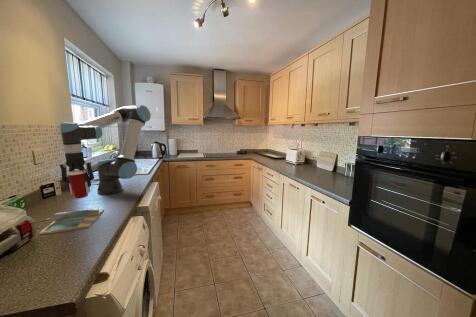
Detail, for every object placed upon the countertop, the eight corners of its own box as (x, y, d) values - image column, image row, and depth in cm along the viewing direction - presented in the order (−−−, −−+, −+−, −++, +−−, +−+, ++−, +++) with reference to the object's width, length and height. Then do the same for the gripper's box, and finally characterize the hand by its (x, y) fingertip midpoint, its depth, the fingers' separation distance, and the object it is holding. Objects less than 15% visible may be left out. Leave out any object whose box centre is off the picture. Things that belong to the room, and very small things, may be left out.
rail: (57, 218, 98) (56, 213, 98) (99, 214, 103) (98, 208, 103) (55, 220, 97) (54, 214, 96) (98, 215, 102) (97, 209, 101)
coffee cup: (94, 194, 113) (89, 168, 110) (79, 200, 106) (74, 172, 103) (83, 193, 116) (78, 168, 113) (67, 198, 108) (62, 172, 105)
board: (64, 214, 104) (64, 213, 104) (103, 210, 109) (103, 209, 109) (39, 234, 85) (38, 232, 85) (88, 228, 90) (87, 226, 90)
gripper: (47, 154, 100) (55, 197, 104) (92, 152, 105) (98, 193, 109) (55, 152, 107) (63, 192, 111) (97, 150, 112) (103, 189, 117)
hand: (80, 193), depth 110 cm, fingers closed on coffee cup, 7 cm apart
